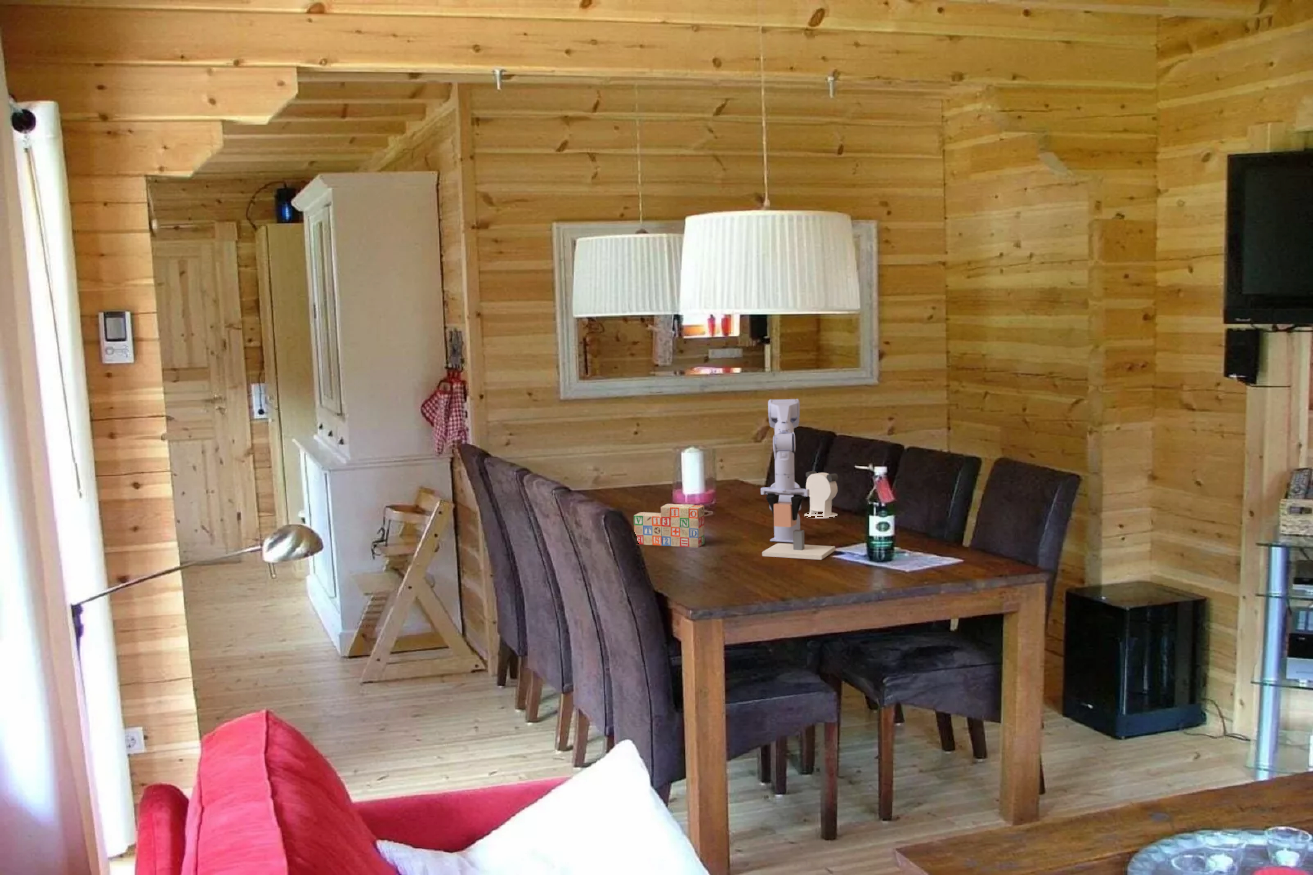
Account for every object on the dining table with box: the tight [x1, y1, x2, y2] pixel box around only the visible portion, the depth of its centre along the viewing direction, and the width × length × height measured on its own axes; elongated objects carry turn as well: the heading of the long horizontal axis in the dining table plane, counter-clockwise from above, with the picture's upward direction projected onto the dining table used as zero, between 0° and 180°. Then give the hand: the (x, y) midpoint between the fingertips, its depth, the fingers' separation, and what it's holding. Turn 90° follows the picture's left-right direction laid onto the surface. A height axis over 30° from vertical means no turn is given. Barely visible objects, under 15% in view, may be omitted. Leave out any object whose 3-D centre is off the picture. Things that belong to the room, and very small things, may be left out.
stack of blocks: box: [633, 503, 706, 548], centre depth 391 cm, size 21×6×12 cm, turn 69°
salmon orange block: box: [773, 501, 796, 527], centre depth 373 cm, size 5×5×7 cm
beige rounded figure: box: [804, 470, 839, 519], centre depth 434 cm, size 12×11×15 cm
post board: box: [761, 529, 836, 561], centre depth 372 cm, size 14×18×7 cm
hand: (785, 519), depth 373 cm, fingers closed on salmon orange block, 5 cm apart
